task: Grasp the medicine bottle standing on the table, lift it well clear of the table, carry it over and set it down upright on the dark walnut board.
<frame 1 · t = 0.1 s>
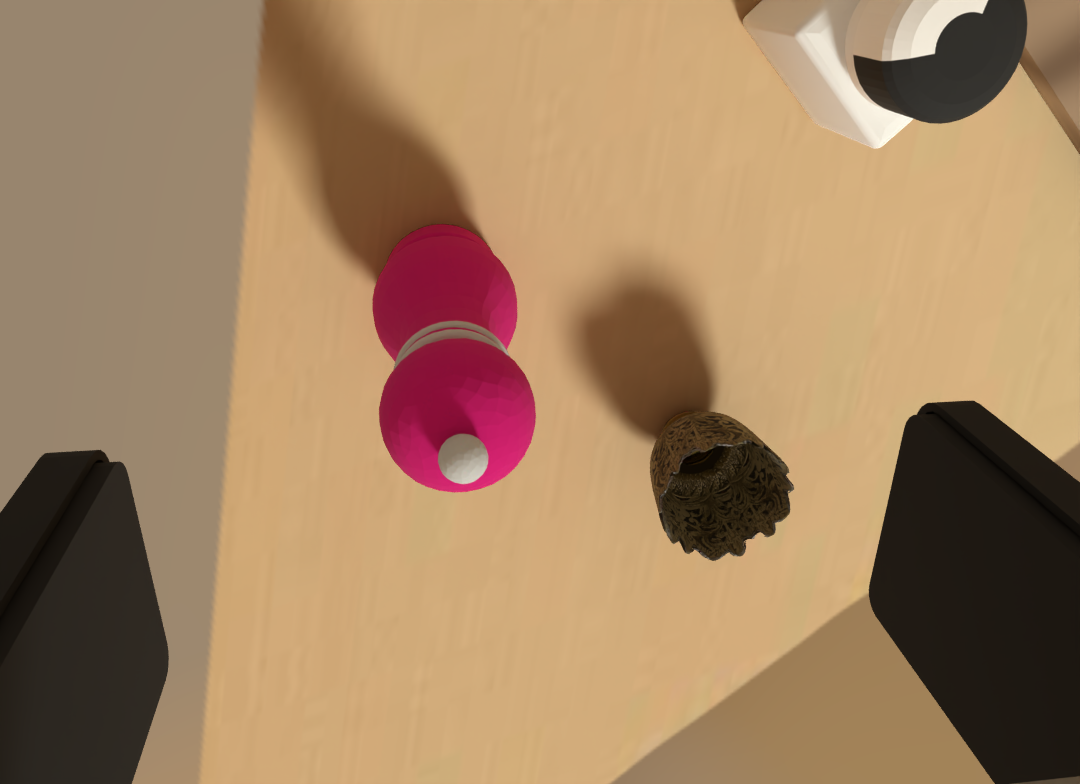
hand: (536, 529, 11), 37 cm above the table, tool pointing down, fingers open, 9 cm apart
medicine bottle: (830, 24, 45), on the table
cup: (685, 431, 55), on the table
pepper mill: (442, 278, 48), on the table
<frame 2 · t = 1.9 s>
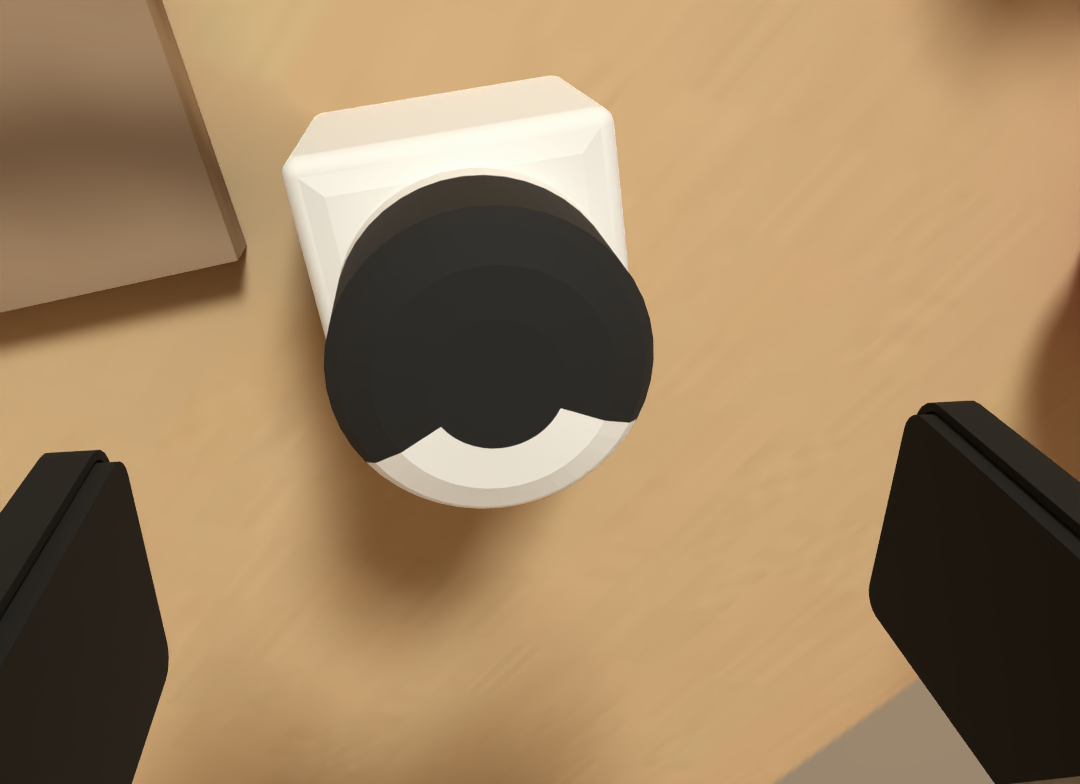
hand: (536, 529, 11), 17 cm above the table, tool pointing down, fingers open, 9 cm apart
medicine bottle: (458, 215, 26), on the table
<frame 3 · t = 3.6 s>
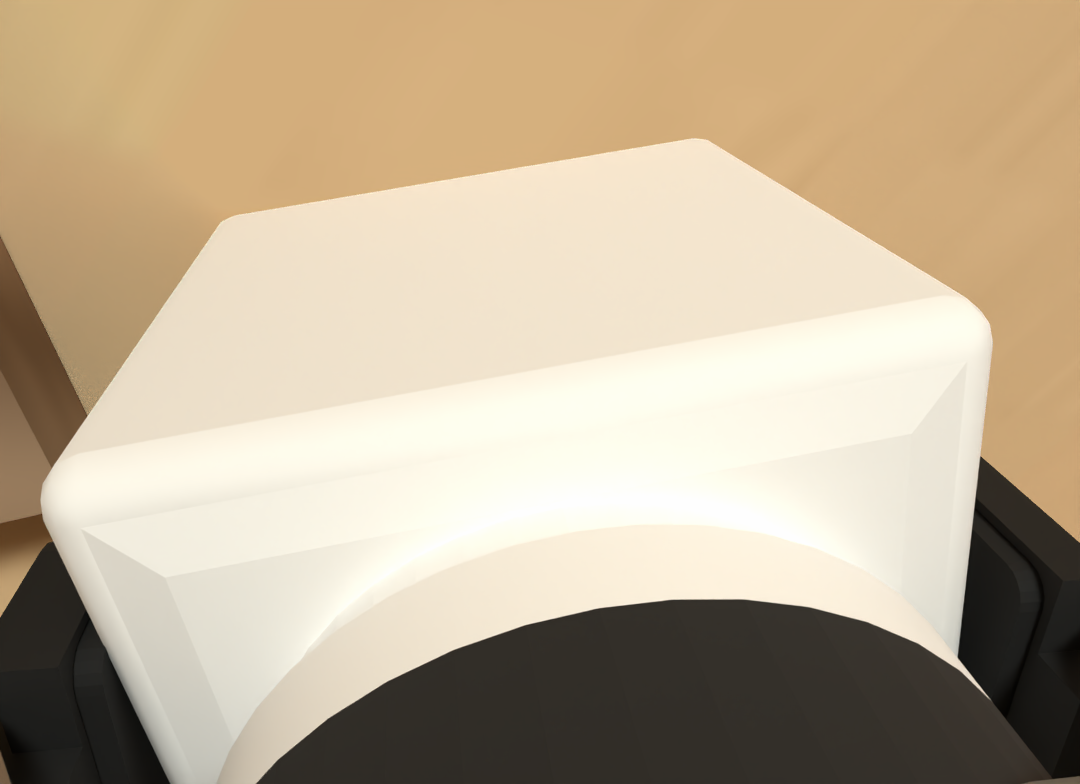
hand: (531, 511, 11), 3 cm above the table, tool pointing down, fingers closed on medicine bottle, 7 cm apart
medicine bottle: (503, 387, 14), on the table, touching gripper
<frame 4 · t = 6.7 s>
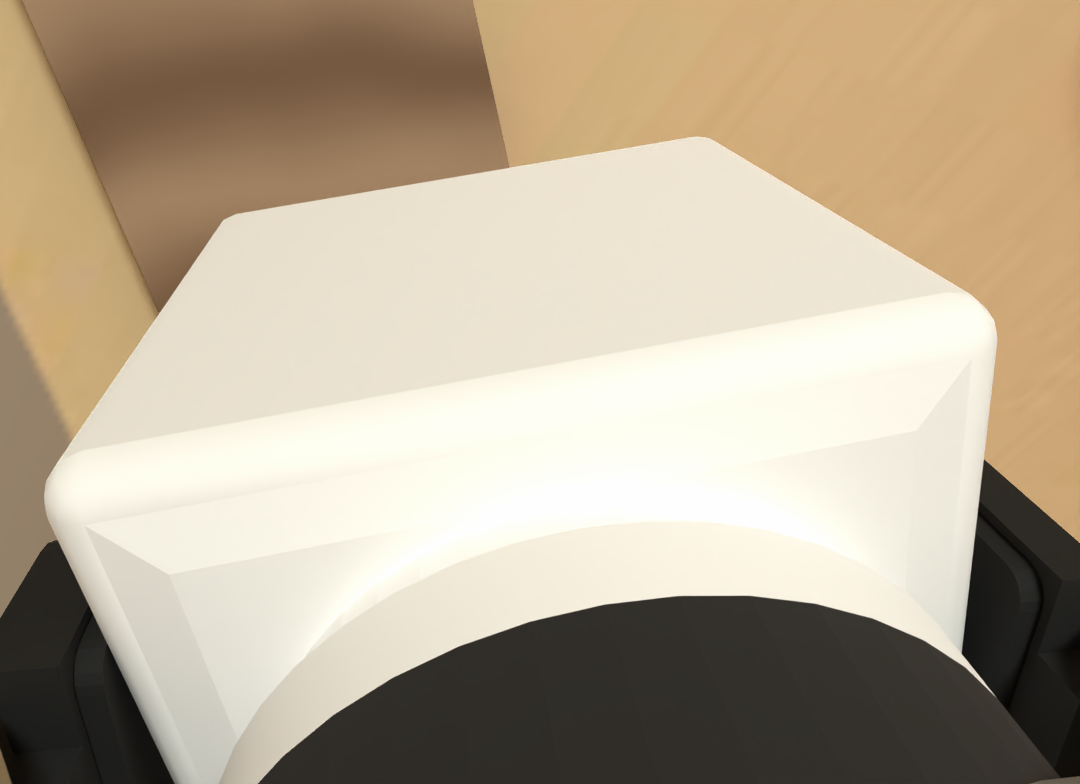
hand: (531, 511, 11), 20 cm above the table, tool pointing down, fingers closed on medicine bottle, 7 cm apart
medicine bottle: (505, 385, 14), point 17 cm above the table, touching gripper
walnut board: (291, 89, 27), on the table
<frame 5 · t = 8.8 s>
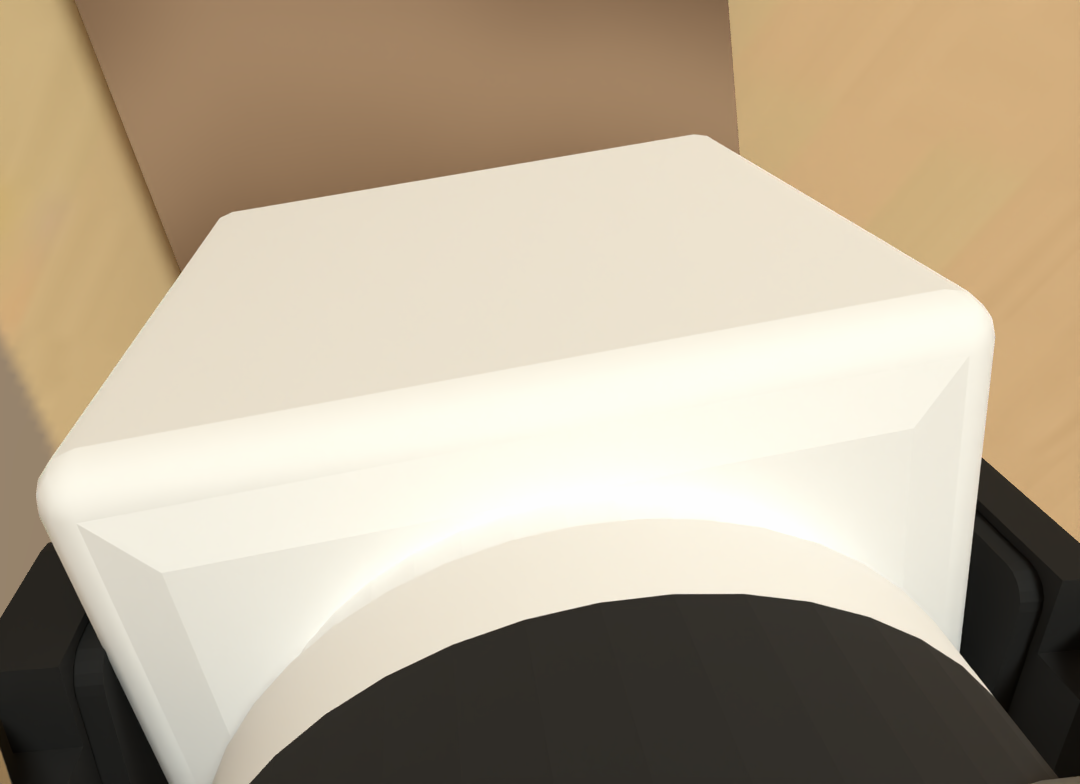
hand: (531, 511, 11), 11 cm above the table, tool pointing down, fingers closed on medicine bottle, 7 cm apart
medicine bottle: (502, 384, 14), point 7 cm above the table, touching gripper
walnut board: (474, 257, 21), on the table
when the fingers open (6 cm above the table, at t = 10.3 s): medicine bottle drops 1 cm, resting on walnut board.
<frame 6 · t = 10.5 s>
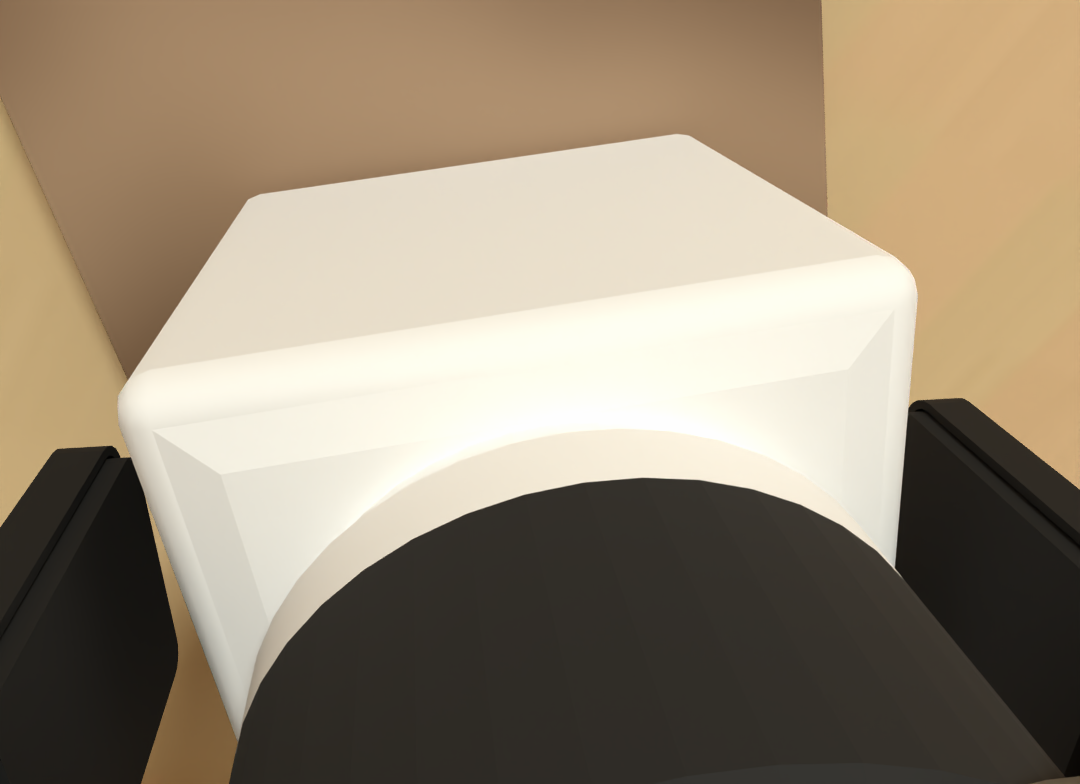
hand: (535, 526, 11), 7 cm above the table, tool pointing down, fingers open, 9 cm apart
medicine bottle: (499, 361, 15), point 1 cm above the table, touching walnut board
walnut board: (488, 322, 17), on the table
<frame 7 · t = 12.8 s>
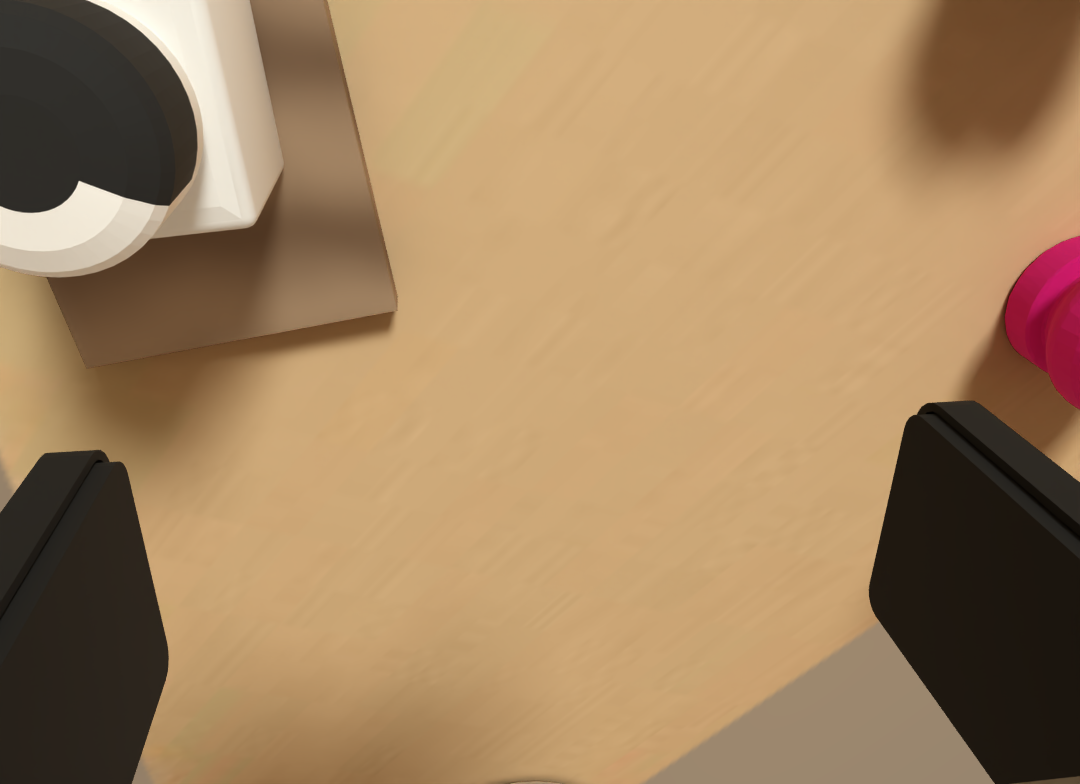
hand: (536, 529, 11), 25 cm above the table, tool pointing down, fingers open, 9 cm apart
medicine bottle: (157, 74, 29), point 1 cm above the table, touching walnut board
pepper mill: (1065, 298, 40), on the table
walnut board: (163, 63, 30), on the table
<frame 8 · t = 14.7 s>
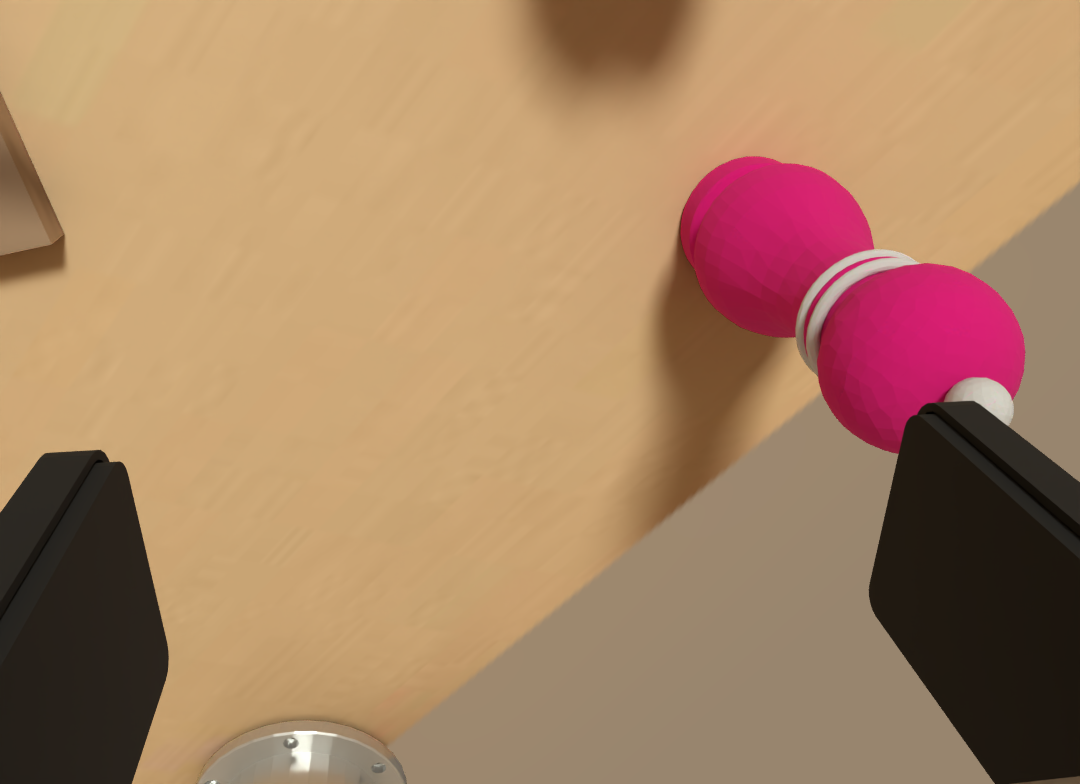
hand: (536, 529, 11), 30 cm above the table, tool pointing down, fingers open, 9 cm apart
pepper mill: (742, 221, 42), on the table
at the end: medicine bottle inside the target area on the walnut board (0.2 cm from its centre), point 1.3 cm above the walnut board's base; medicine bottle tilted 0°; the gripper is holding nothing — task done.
